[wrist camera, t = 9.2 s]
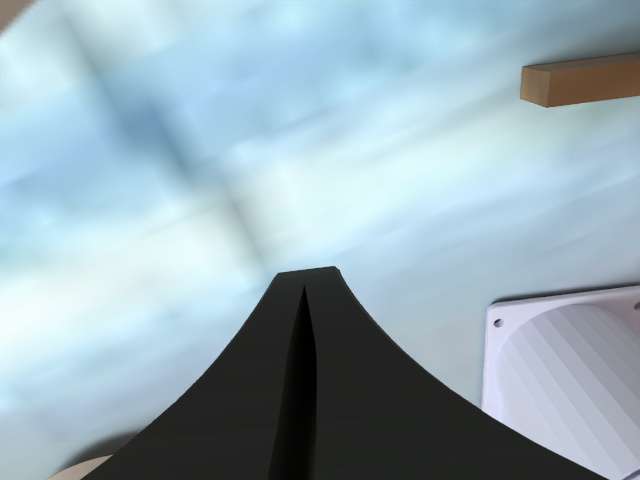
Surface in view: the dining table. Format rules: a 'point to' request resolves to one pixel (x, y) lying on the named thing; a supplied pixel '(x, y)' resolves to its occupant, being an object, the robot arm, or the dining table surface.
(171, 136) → the dining table surface
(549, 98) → the cradle
